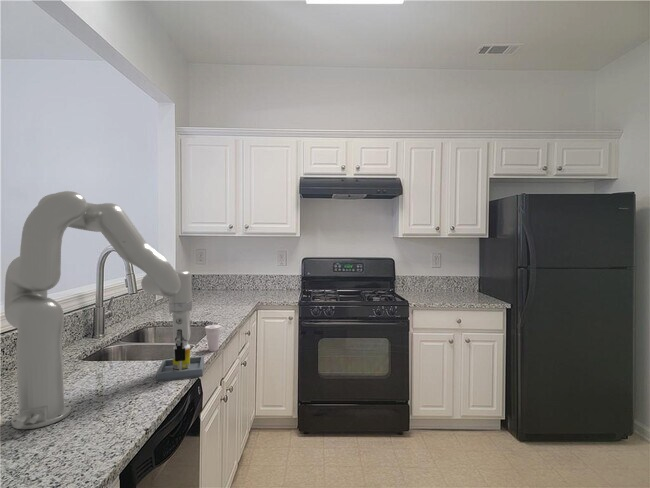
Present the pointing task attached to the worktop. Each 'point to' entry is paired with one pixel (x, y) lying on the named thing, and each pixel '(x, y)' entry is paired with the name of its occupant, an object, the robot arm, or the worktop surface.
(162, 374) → the slate tray
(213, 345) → the smoothie
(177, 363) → the supplement bottle
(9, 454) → the worktop surface
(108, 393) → the worktop surface
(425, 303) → the worktop surface
